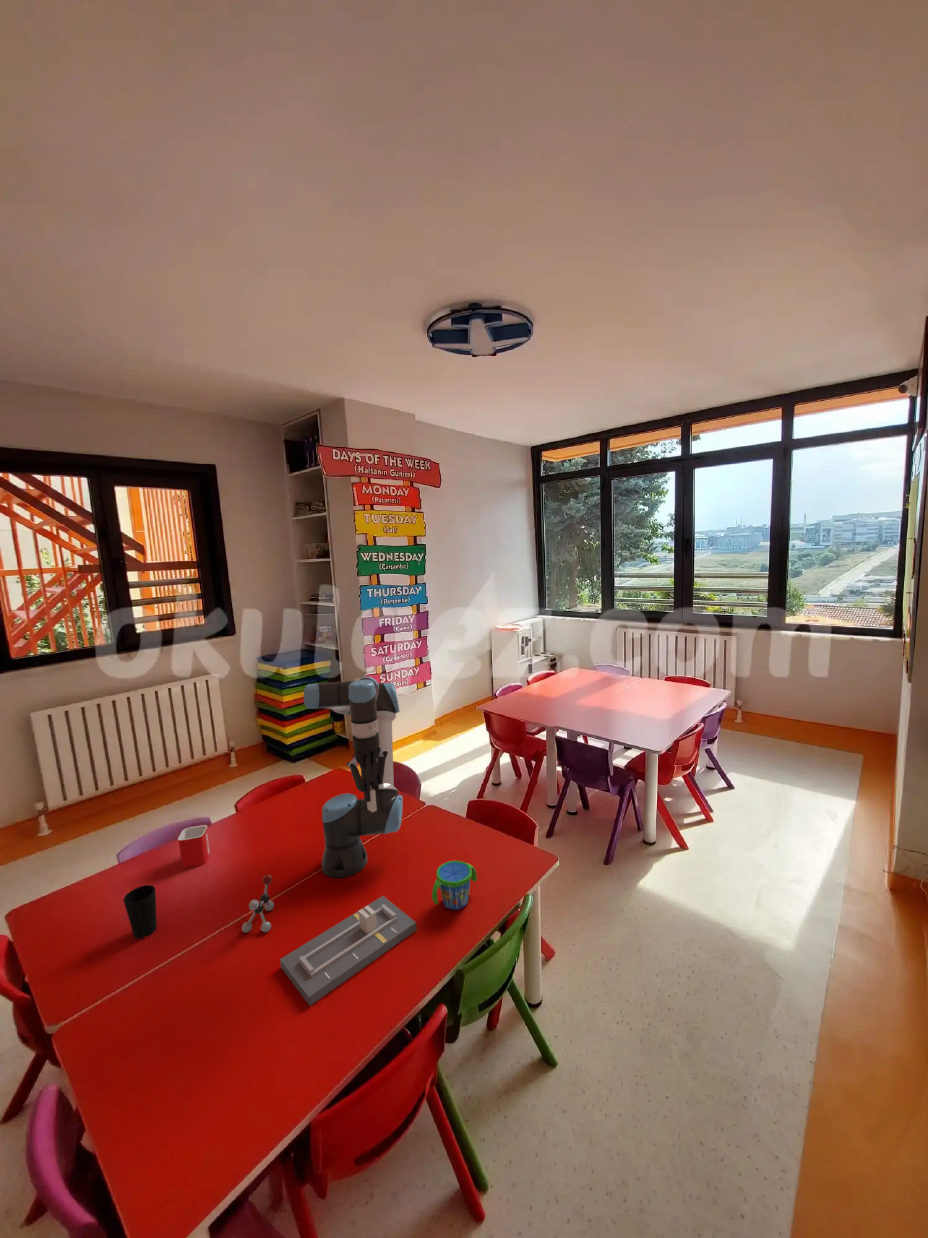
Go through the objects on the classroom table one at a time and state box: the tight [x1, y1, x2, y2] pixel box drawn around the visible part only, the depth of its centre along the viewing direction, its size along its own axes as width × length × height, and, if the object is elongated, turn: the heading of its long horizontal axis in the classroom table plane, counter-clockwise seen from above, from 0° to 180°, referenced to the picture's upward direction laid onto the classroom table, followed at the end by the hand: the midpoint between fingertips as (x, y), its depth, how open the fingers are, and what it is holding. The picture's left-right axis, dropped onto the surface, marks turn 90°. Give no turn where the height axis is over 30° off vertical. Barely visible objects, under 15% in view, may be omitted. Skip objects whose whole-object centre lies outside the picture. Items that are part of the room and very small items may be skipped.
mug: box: [177, 824, 211, 869], centre depth 179 cm, size 12×8×11 cm
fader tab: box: [358, 904, 377, 934], centre depth 137 cm, size 4×3×5 cm
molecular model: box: [241, 874, 275, 934], centre depth 146 cm, size 8×12×11 cm
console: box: [279, 895, 418, 1007], centre depth 134 cm, size 16×32×4 cm, turn 134°
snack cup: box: [431, 860, 478, 911], centre depth 149 cm, size 16×10×10 cm
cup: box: [123, 884, 158, 939], centre depth 144 cm, size 8×8×12 cm
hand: (372, 809), depth 148 cm, fingers closed
